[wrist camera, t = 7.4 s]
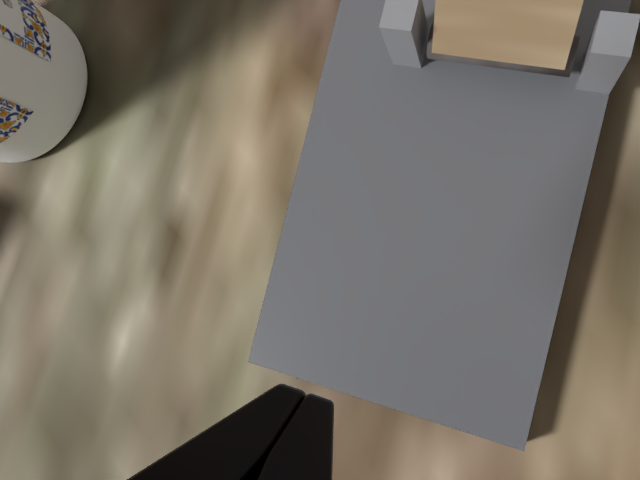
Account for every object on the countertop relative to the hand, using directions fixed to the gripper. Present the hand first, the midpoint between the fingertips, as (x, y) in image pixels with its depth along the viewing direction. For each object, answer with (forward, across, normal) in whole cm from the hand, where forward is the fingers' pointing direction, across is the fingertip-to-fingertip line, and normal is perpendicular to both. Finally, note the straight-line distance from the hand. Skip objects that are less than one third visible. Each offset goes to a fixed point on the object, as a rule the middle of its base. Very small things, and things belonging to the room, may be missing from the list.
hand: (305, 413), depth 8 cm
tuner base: (+14, 0, 0) cm, 14 cm away
